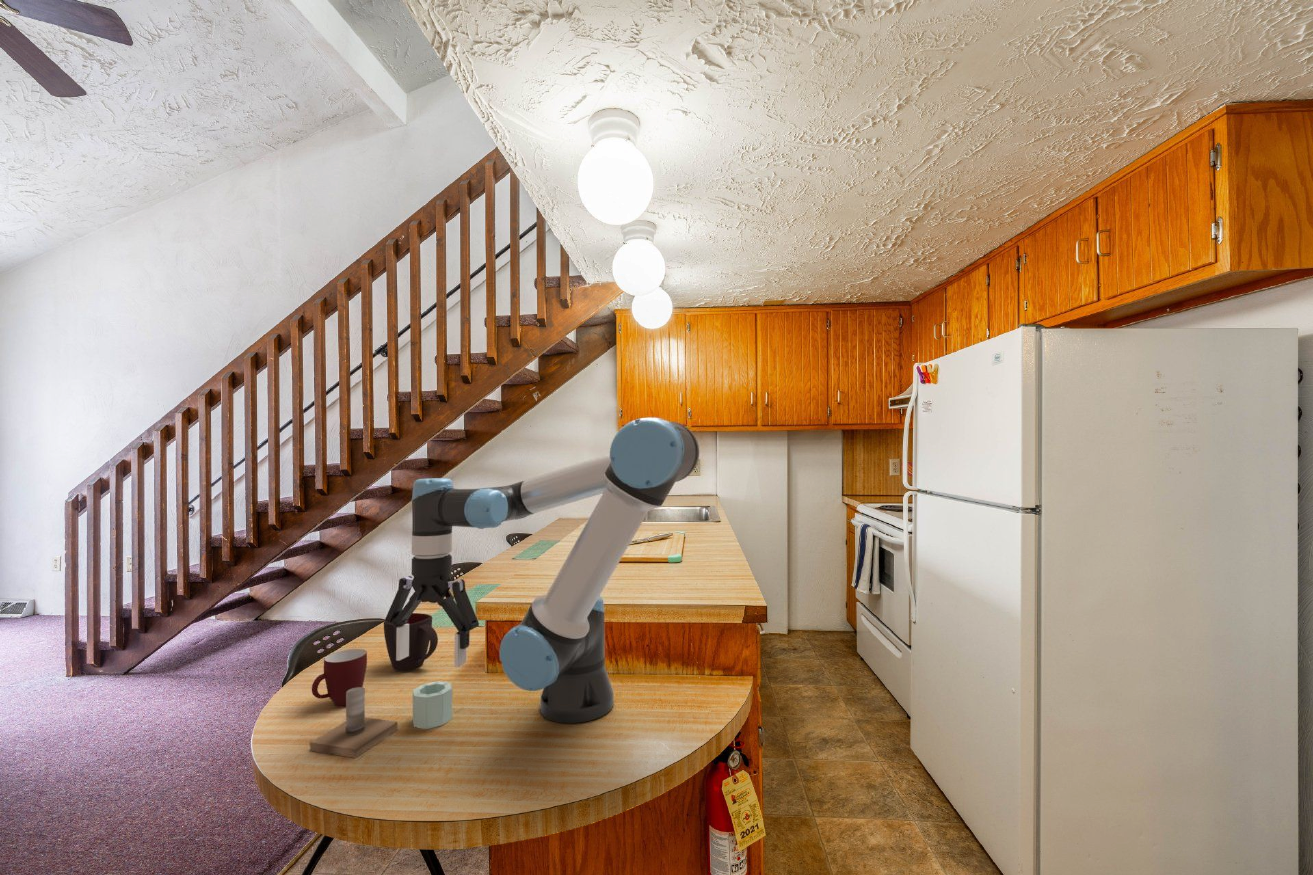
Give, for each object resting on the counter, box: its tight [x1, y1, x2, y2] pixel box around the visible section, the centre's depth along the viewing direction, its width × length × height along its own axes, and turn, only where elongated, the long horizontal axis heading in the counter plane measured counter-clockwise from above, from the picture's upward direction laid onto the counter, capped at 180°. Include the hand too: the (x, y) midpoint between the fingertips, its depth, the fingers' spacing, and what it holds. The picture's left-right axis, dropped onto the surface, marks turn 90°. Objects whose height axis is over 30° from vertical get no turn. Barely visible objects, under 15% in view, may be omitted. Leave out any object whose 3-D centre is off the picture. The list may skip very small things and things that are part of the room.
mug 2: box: [383, 612, 439, 673], centre depth 133 cm, size 10×14×12 cm
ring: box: [412, 680, 453, 730], centre depth 107 cm, size 7×7×6 cm
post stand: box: [309, 687, 398, 759], centre depth 99 cm, size 10×10×9 cm
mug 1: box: [311, 648, 368, 707], centre depth 114 cm, size 10×8×10 cm
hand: (430, 661), depth 107 cm, fingers open, 13 cm apart
